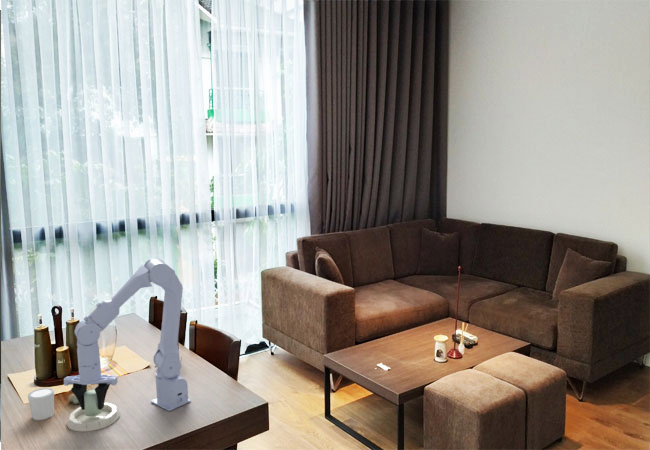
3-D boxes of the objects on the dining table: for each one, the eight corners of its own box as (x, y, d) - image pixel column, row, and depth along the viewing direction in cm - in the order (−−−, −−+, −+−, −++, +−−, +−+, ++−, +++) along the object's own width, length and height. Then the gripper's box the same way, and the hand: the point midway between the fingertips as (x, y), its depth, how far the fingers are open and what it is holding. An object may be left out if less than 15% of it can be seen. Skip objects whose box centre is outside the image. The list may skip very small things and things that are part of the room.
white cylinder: (49, 407, 168) (47, 385, 166) (60, 414, 163) (58, 391, 162) (25, 416, 162) (23, 393, 161) (36, 423, 158) (34, 400, 157)
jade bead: (104, 409, 162) (103, 389, 161) (96, 416, 157) (95, 396, 157) (90, 409, 162) (88, 389, 161) (82, 416, 158) (80, 396, 157)
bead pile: (92, 401, 171) (91, 394, 170) (76, 408, 167) (76, 400, 167) (82, 396, 174) (81, 389, 174) (66, 402, 171) (66, 394, 170)
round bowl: (129, 417, 161) (128, 410, 161) (82, 437, 150) (82, 430, 150) (103, 403, 170) (103, 396, 170) (58, 421, 159) (57, 414, 159)
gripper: (120, 357, 161) (123, 401, 163) (70, 357, 162) (74, 401, 164) (110, 367, 154) (113, 413, 156) (58, 367, 155) (62, 413, 157)
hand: (93, 408), depth 160 cm, fingers closed on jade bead, 4 cm apart
